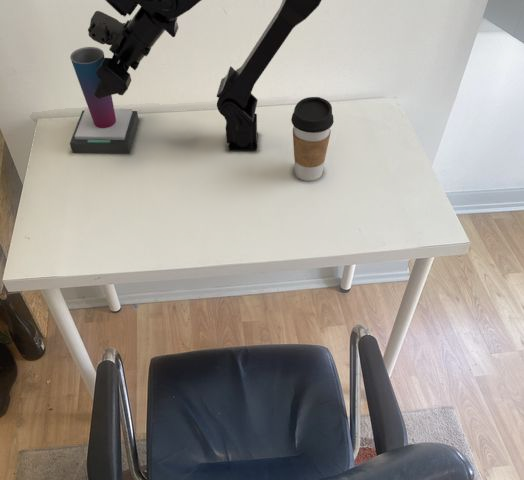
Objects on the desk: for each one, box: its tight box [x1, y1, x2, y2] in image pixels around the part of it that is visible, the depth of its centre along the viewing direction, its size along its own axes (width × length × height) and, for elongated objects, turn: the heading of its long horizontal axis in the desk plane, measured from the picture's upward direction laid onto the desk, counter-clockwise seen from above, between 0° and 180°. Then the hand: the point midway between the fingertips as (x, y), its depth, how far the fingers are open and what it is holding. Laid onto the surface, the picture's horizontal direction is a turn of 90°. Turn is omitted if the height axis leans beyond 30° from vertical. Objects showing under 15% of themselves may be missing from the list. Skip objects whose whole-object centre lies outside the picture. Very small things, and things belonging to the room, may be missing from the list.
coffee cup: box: [290, 96, 335, 182], centre depth 111 cm, size 8×8×15 cm
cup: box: [69, 46, 116, 128], centre depth 117 cm, size 7×7×15 cm
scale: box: [69, 107, 140, 155], centre depth 124 cm, size 13×13×3 cm
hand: (102, 84), depth 116 cm, fingers open, 9 cm apart
